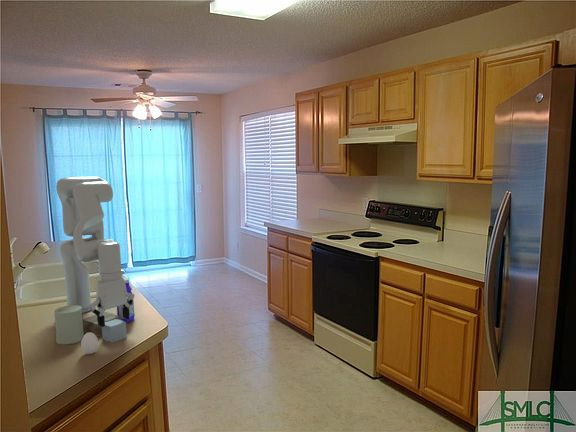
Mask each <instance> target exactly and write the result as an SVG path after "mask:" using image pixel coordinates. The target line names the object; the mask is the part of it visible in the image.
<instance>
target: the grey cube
mask: <svg viewBox="0 0 576 432" xmlns="http://www.w3.org/2000/svg"><path fill="white" fill-rule="evenodd" d="M101 336H102V340H104V341H106V342H108V343H111V344H112V343H115V342H118V341H120V340H123V339H127V338H128V336H127V323H126V322H124V321H122V320H119V319H114V320H111V321H108V322H105V326H104V327H102V335H101Z"/></svg>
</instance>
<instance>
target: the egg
mask: <svg viewBox="0 0 576 432" xmlns="http://www.w3.org/2000/svg"><path fill="white" fill-rule="evenodd" d="M80 344H81V350H82V351H83V352H84V353H85V354H88V355H92V354H94V353H95V352H96V351H97V349H98V347H99V339H98V336H96V335H95V334H93V333H91V332H88V333H87V332H85V334H84V337H83V338H82V340H81V342H80Z"/></svg>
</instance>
